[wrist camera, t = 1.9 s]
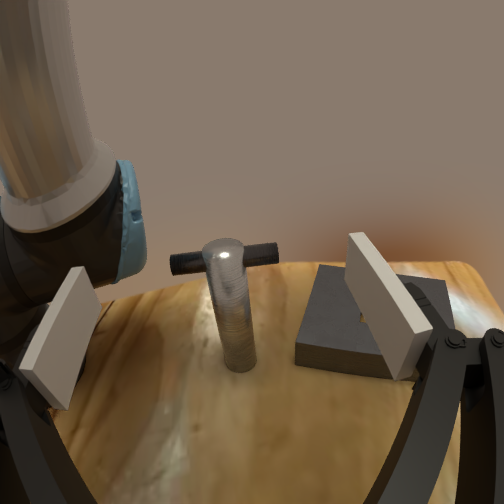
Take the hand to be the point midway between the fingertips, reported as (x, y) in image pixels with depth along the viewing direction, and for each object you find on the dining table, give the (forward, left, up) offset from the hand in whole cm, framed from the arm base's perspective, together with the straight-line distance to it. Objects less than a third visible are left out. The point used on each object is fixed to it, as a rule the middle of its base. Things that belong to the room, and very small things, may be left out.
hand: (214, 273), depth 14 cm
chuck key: (-4, +9, -20) cm, 22 cm away
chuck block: (+11, +17, -20) cm, 28 cm away
